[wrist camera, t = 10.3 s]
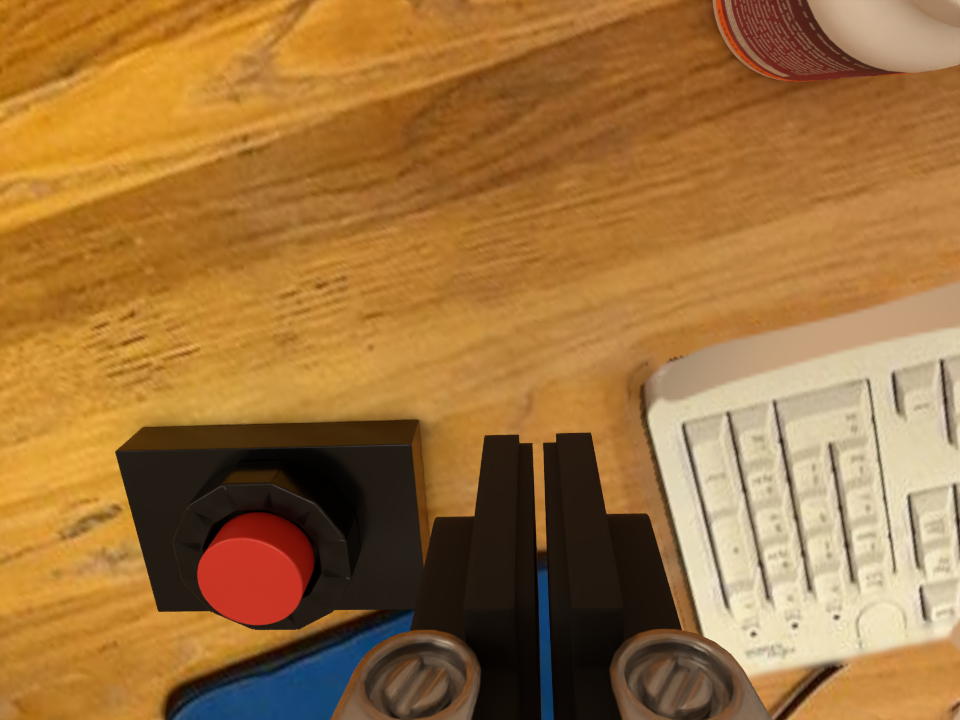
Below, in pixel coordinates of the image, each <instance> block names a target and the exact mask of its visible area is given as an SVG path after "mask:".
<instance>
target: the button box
mask: <svg viewBox="0 0 960 720" xmlns="http://www.w3.org/2000/svg"><path fill="white" fill-rule="evenodd" d="M115 453H116V457H117V460H118V464H119V468H120V471H121V475H122V479H123V483H124V486H125V490H126V494H127V497H128V501H129V505H130V509H131V512H132V516H133V520H134V523H135V527H136V531H137V535H138V538H139V542H140V546H141V549H142V553H143V557H144V561H145V564H146V568H147V572H148V575H149V579H150V583H151V587H152V590H153V594H154V598H155V601H156V605H157V609H158V611H159V612H177V611H211V612H213V613H215V614H217V615H220V616H222V617H224V618H227V617H225V616H224V615H222V614H221V613H219V612H218V611H217V610H215V609H214V608H213V607H212V606H211V605H210V604H209V603H208V601H207V600H206V599H205V597H204V596H203V594H202V592H201V590H200V587H199V584H198V578H197V571H198V565H199V562H200V559H201V558H202V556H203V554H204V553H205V551H206V550H207V548H208V547H209V545H210V544H211V542H212V541H213V540H214V538H215V537H216V535H217V534H218V532H219V531H220V529H221V528H222V527H223V526H224V525H225V524H226V523H227V522H228V521H230V520H231V519H233V518H235V517H237V516H239V515H242V514H246V513H252V512H264V513H271V514H274V515H278V516H280V517H283V518H285V519H287V520H289V521H290V522H292V523H293V524H295V525H296V526H297V527H298V528H300V529H301V530H302V531H303V533H304V534H305V535H306V536H307V538H308V539H309V541H310V543H311V545H312V548H313V552H314V557H315V564H314V570H313V573H312V575H311V578H310V580H309V582H308V585H307V587H306V589H305V592H304V594H303V596H302V599H301V601H300V603H299V605H298V606H297V608H296V609H295V610H294V611H293V612H292V613H291V614H290V615H289V616H287V617H286V618H284V619H282V620H280V621H278V622H275V623H272V624H266V625H250V624H244V623H240V622H237V621H234V620H232V619H229V618H227V619H229V620H232V621H234V622H236V623H239V624H241V625H243V626H246V627H248V628H251V629H255V630H296V629H301V628H303V627H305V626H306V625H308V624H310V623H312V622H314V621H316V620H318V619H320V618H322V617H324V616H326V615H328V614H330V613H331V612H333V611H334V610H380V609H415V606H416V602H417V597H418V593H419V588H420V584H421V579H422V574H423V570H424V565H425V561H426V556H427V551H428V547H429V542H430V538H429V527H428V516H427V505H426V494H425V483H424V472H423V462H422V451H421V440H420V429H419V421H418V420H401V421H364V422H327V423H290V424H253V425H215V426H178V427H143V428H141V429H140V430H139V431H138V432H137V433H136V434H135V435H133V436H132V437H131V438H130V439H129V440H128V441H127V442H125V443H124V444H123V445H122V446H121V447H120V448H119V449H118V450H116V452H115Z"/></svg>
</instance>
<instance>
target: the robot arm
mask: <svg viewBox="0 0 960 720" xmlns="http://www.w3.org/2000/svg"><path fill="white" fill-rule="evenodd" d="M543 450H544V480H545V509H546V538H547V567H548V595H549V620H550V643H551V667H552V690H553V714H554V720H772V719H771V717H770V715H769V714H768V712H767V710H766V708H765V707H764V705H763V703H762V701H761V700H760V698H759V696H758V694H757V693H756V691H755V689H754V687H753V686H752V684H751V682H750V680H749V679H748V677H747V675H746V673H745V672H744V670H743V669H742V667H741V666H740V665H739V663H738V662H737V661H736V660H735V658H734V657H733V656H732V655H731V654H730V653H729V652H728V651H726V650H725V649H724V648H722V647H721V646H720V645H718V644H717V643H716V642H714V641H712V640H709V639H707V638H705V637H703V636H700V635H698V634H696V633H692V632H687V631H682V629H681V625H680V622H679V618H678V615H677V611H676V608H675V604H674V601H673V597H672V594H671V590H670V587H669V583H668V580H667V577H666V573H665V570H664V566H663V563H662V559H661V556H660V552H659V549H658V545H657V542H656V538H655V535H654V531H653V528H652V525H651V521H650V519H649V516H648V515H647V514H646V513H644V514H606V510H605V505H604V499H603V494H602V489H601V483H600V478H599V473H598V468H597V462H596V457H595V452H594V446H593V441H592V436H591V433H558V434H556V443H543ZM331 720H541V682H540V638H539V596H538V569H537V545H536V520H535V496H534V471H533V447H532V443H519V435H485V437H484V444H483V452H482V460H481V468H480V476H479V484H478V493H477V501H476V509H475V516H472V517H437V518H435V521H434V524H433V528H432V533H431V538H430V542H429V547H428V551H427V556H426V561H425V565H424V570H423V574H422V579H421V584H420V588H419V593H418V597H417V602H416V606H415V611H414V616H413V620H412V625H411V629H410V631H409V632H405V633H401V634H397V635H395V636H392V637H390V638H388V639H386V640H384V641H382V642H380V643H379V644H377V645H376V646H375V647H374V648H373V649H371V650H370V651H369V652H368V653H367V654H365V656H364V657H363V659H362V660H361V661H360V663H359V664H358V666H357V667H356V669H355V670H354V672H353V675H352V677H351V679H350V681H349V683H348V685H347V687H346V689H345V691H344V693H343V695H342V697H341V699H340V701H339V703H338V705H337V707H336V709H335V711H334V713H333V716H332V718H331Z"/></svg>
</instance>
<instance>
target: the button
mask: <svg viewBox="0 0 960 720" xmlns="http://www.w3.org/2000/svg"><path fill="white" fill-rule="evenodd" d="M314 564H315V557H314V552H313V548H312V545H311V543H310V541H309V539H308V538H307V536H306V535H305V534H304V533H303V531H302V530H301V529H300V528H298V527H297V526H296V525H295V524H293V523H292V522H290V521H289V520H287V519H285V518H283V517H280V516H278V515H274V514H271V513H264V512H252V513H246V514H242V515H239V516H237V517H235V518H233V519H231V520H230V521H228V522H227V523H226V524H225V525H224V526H223V527H222V528H221V529H220V531H219V532H218V534H217V535H216V537H215V538H214V540H213V541H212V542H211V544H210V545H209V547H208V548H207V550H206V551H205V553H204V554H203V556H202V558H201V559H200V562H199V565H198V571H197V578H198V584H199V587H200V590H201V592H202V594H203V596H204V597H205V599H206V600H207V601H208V603H209V604H210V605H211V606H212V607H213V608H214V609H215V610H217V611H218V612H219V613H221V614H222V615H224V616H225V617H227V618H229V619H232V620H234V621H237V622H240V623H244V624H250V625H266V624H272V623H275V622H278V621H280V620H282V619H284V618H286V617H287V616H289V615H290V614H291V613H292V612H293V611H294V610H295V609H296V608H297V606H298V605H299V603H300V601H301V599H302V596H303V594H304V592H305V589H306V587H307V585H308V582H309V580H310V578H311V575H312V573H313V570H314Z"/></svg>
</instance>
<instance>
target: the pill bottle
mask: <svg viewBox="0 0 960 720" xmlns="http://www.w3.org/2000/svg"><path fill="white" fill-rule="evenodd" d="M713 9H714V14H715V19H716V22H717V26H718V28H719V31H720V33H721V35H722V37H723V39H724V41H725V43H726V44H727V46H728V47H729V49H730V50H731V52H732V53H733V54H734V55H735V56H736V57H737V58H738V59H739V60H740V61H741V62H742V63H743V64H745V65H746V66H747V67H749V68H750V69H752V70H753V71H755V72H757V73H759V74H761V75H763V76H766V77H769V78H773V79H777V80H783V81H798V82H804V81H817V80H828V79H841V78H855V77H864V76H877V75H895V74H908V73H920V72H926V71H933V70H939V69H944V68H949V67H953V66H956V65H960V0H713Z"/></svg>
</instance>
